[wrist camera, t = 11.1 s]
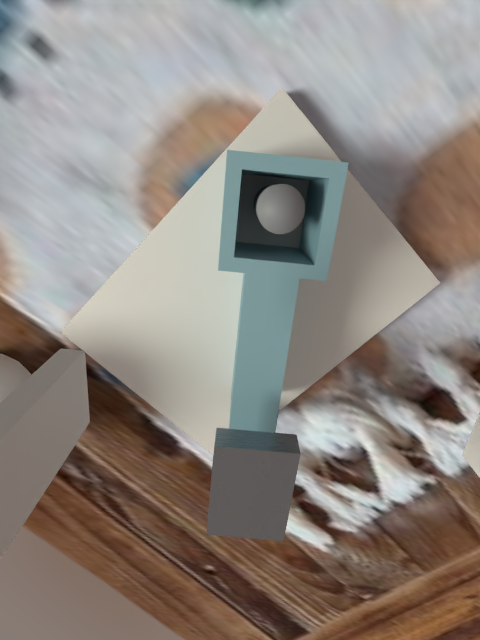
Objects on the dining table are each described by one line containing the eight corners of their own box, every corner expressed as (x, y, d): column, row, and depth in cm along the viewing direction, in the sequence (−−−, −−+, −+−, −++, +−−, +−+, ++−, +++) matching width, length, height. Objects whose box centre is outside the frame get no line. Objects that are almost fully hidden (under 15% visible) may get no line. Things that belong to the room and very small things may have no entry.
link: (231, 159, 23) (227, 149, 17) (323, 168, 23) (348, 162, 17) (213, 387, 29) (205, 435, 23) (286, 393, 29) (296, 443, 23)
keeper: (226, 346, 29) (214, 446, 18) (279, 351, 29) (300, 453, 18) (220, 410, 31) (206, 534, 20) (269, 414, 31) (283, 541, 20)
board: (279, 93, 23) (296, 47, 15) (430, 278, 27) (501, 313, 19) (69, 325, 29) (7, 373, 21) (219, 447, 33) (211, 524, 25)
